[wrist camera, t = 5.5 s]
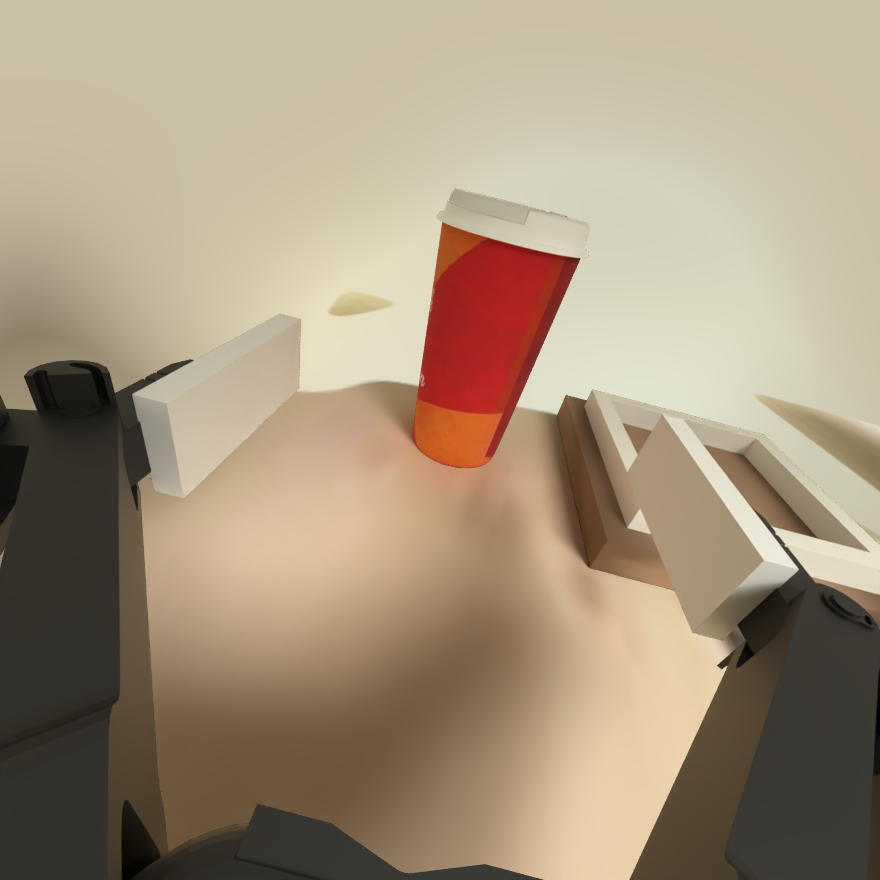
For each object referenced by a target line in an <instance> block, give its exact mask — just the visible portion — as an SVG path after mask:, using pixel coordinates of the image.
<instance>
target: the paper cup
mask: <svg viewBox="0 0 880 880" xmlns="http://www.w3.org/2000/svg"><path fill="white" fill-rule="evenodd" d="M437 218H438V219H439V220H441V221H442V228H441V235H440V242H439V249H438V256H437V263H436V270H435V277H434V283H433V291H432V298H431V305H430V311H429V318H428V325H427V332H426V339H425V346H424V353H423V360H422V367H421V374H420V381H419V388H418V396H417V403H416V411H415V419H414V428H413V439H414V442H415V444H416V446H417V447H418V449H419V450H420V451H421V452H422V453H424V454H425V455H426V456H428V457H429V458H431V459H433V460H435V461H437V462H439V463H441V464H444V465H448V466H452V467H457V468H475V467H479V466H482V465H484V464H486V463H487V462H489V461H490V460H491V458H492V457H493V455H494V453H495V451H496V449H497V447H498V445H499V443H500V440H501V438H502V436H503V434H504V432H505V430H506V427H507V425H508V423H509V421H510V418H511V416H512V414H513V412H514V409H515V407H516V405H517V402H518V400H519V398H520V395H521V393H522V391H523V389H524V386H525V384H526V382H527V380H528V378H529V375H530V373H531V371H532V368H533V366H534V364H535V362H536V359H537V357H538V355H539V352H540V350H541V348H542V345H543V343H544V341H545V339H546V336H547V334H548V331H549V329H550V327H551V325H552V323H553V320H554V318H555V316H556V313H557V311H558V309H559V306H560V304H561V302H562V299H563V297H564V295H565V293H566V290H567V288H568V286H569V284H570V281H571V279H572V277H573V274H574V272H575V270H576V268H577V265H578V263H579V260H580V258H587V257H588V256H589V255H588V250H587V249H585V245H586V241H587V237H588V232H589V224H588V223H585V222H582V221H579V220H575V219H570V218H568V217H567V216H564V215H560V214H557V213H553V212H546V211H543V210H540V209H536V208H532V207H528V206H524V205H521V204H517V203H513V202H509V201H505V200H501V199H497V198H493V197H489V196H485V195H481V194H477V193H472V192H469V191H464V190H459V189H454V190H453V191H452V193H451V196H450V199H449V201H447V204H446V207H445V210H444V211H440V212H439V214H438V215H437Z"/></svg>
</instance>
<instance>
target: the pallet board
mask: <svg viewBox="0 0 880 880" xmlns="http://www.w3.org/2000/svg"><path fill="white" fill-rule="evenodd" d="M662 414H664V415H668V416H672V417H676V418H680V419H683V420H684V421H685V422H686V423H687V425H688V426H689V427H690V429H691V430H692V431H693V433H694V434H695V435H696V436H697V438H698V439H699V440H700V442H701V443H702V444H703V446H704V447H705V448H706V449H707V451H708V452H709V453H710V455H711V456H712V457H713V459H714V460H715V461H716V462H717V464H718V465H719V466H720V468H721V469H722V470H723V472H724V473H725V474H726V475H727V477H728V478H729V479H730V481H731V482H732V483H733V485H734V486H735V487H736V488H737V490H738V491H739V492H740V494H741V495H742V496H743V497H744V499H745V500H746V501H747V503H748V504H749V505H750V506H751V507H752V508H753V509H754V510H756V511H757V512H758V513H759V514H760V515H762V516H763V517H764V518H765V519H766V520H767V522H768V523H769V524H770V525H771V527H772V528H773V529H774V530H775V532H776V535H778V536H779V537H780V538H781V539H782V541H783V542H784V543H785V547H788V548H789V550H790V551H791V552H792V553H793V555H794V556H795V557H796V558H797V560H798V561H799V562H800V564H801V565H802V566H803V567H804V569H805V570H806V571H807V572H808V574H809V575H810V576H811V578H812V579H813V580H814V581H815V583H821V584H824V585H827V586H830V587H833V588H834V589H836V590H838V591H840V592H842V593H844V594H846V595H847V596H848V597H850V598H851V599H853V600H854V601H855V602H857V603H858V604H859V605H861V606H862V607H863V608H864V609H865V610H866V611H867V612H868V613H869V614H870V615H871V616H872V617H873V619H874V620H875V621H876V623H877V624H878V626H879V629H880V545H879V544H878V543H877V542H876V541H875V540H874V539H873V538H872V537H871V536H870V535H868V534H867V533H866V532H865V531H864V530H863V529H862V528H861V527H860V526H859V525H858V524H857V523H856V522H855V521H854V520H853V519H852V518H851V517H850V516H849V515H848V514H846V513H845V512H844V511H843V510H842V509H841V508H840V507H839V506H838V505H837V504H836V503H835V502H834V501H833V500H832V499H830V497H829V496H827V494H826V493H824V492H823V491H822V490H821V489H820V488H819V487H818V486H817V485H816V484H815V483H814V482H813V481H811V479H810V478H809V477H808V476H807V475H805V473H804V472H802V471H801V470H800V469H799V468H798V467H797V466H796V465H795V464H794V463H793V462H792V461H791V460H790V459H789V458H788V457H787V456H786V455H785V454H783V452H781V451H780V450H779V449H778V448H777V447H776V446H775V445H774V444H773V443H772V442H771V441H770V440H769V439H768V438H767V437H766V436H764V435H763V434H760V433H756V432H752V431H748V430H744V429H741V428H737V427H733V426H729V425H725V424H722V423H718V422H714V421H710V420H706V419H703V418H699V417H695V416H691V415H687V414H684V413H679V412H676V411H672V410H668V409H665V408H661V407H657V406H653V405H649V404H646V403H642V402H637V401H634V400H630V399H627V398H623V397H618V396H615V395H611V394H607V393H604V392H600V391H596V390H592V391H591V393H590V395H589V397H588V399H587V400H583V399H579V398H575V397H571V396H568V395H566V396H565V398H564V401H563V403H562V405H561V408H560V410H559V412H558V414H557V419H558V424H559V429H560V433H561V438H562V442H563V447H564V452H565V456H566V461H567V465H568V470H569V475H570V479H571V484H572V488H573V493H574V498H575V502H576V507H577V511H578V516H579V521H580V525H581V530H582V534H583V539H584V544H585V548H586V553H587V557H588V562H589V567H590V568H593V569H596V570H600V571H604V572H608V573H611V574H615V575H619V576H623V577H627V578H630V579H634V580H638V581H642V582H645V583H649V584H653V585H657V586H661V587H664V588H668V589H672V590H674V588H673V585H672V583H671V580H670V578H669V576H668V573H667V571H666V568H665V566H664V564H663V561H662V559H661V557H660V554H659V552H658V549H657V547H656V545H655V542H654V540H653V537H652V535H651V533H650V530H649V528H648V526H647V523H646V521H645V518H644V516H643V514H642V511H641V509H640V506H639V504H638V502H637V499H636V497H635V495H634V492H633V490H632V487H631V485H630V483H629V480H628V478H627V476H626V473H627V472H628V470H629V469H630V467H631V465H632V464H633V462H634V460H635V459H636V457H637V455H638V454H639V452H640V450H641V449H642V447H643V445H644V444H645V442H646V440H647V439H648V437H649V435H650V434H651V432H652V430H653V429H654V427H655V425H656V424H657V422H658V420H659V419H660V417H661V415H662Z"/></svg>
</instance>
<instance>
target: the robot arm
mask: <svg viewBox="0 0 880 880" xmlns="http://www.w3.org/2000/svg"><path fill="white" fill-rule="evenodd" d="M300 328H301V319H298V318H294V317H290V316H286V315H282V314H278V315H277V316H275V317H273V318H271V319H269V320H268V321H266V322H264V323H262V324H260V325H258V326H256V327H255V328H253V329H251V330H249V331H247V332H245V333H244V334H242V335H240V336H238V337H236V338H235V339H233V340H231V341H229V342H227V343H225V344H223V345H222V346H220V347H218V348H216V349H214V350H213V351H211V352H209V353H207V354H205V355H203V356H201V357H200V358H198V359H196V360H186V361H182V362H178V363H173V364H171V365H169V366H167V367H165V368H163V369H161V370H159V371H157V373H153V374H151V375H149V376H147V377H146V378H145V380H144V379H141V380H140V381H138V382H136V383H134V384H132V385H130V386H128V387H126V388H124V389H122V390H120V391H118V392H116V393H115V392H114V388H113V384H112V381H111V377H110V373H109V371H108V369H107V367H105V366H103V365H101V364H98V363H94V362H89V361H75V360H69V361H58V362H52V363H47V364H43V365H40V366H37V367H35V368H33V369H31V370H29V371H28V372H27V373H26V374H25V376H24V378H25V380H26V383H27V385H28V388H29V391H30V393H31V396H32V398H33V401H34V404H35V406H36V409H37V411H32V410H18V409H6V407H5V405H4V403H3V400H2V398H1V396H0V555H1V554H2V552H3V550H4V549H5V550H4V555H3V559H2V563H1V567H0V880H542V879H539V878H535V877H531V876H527V875H524V874H520V873H516V872H512V871H509V870H505V869H501V868H497V867H493V866H490V865H486V864H483V865H475V866H467V867H459V868H451V869H443V870H435V871H427V872H419V873H403V872H401V871H398V870H397V869H395V868H394V867H392V866H391V865H389V864H388V863H387V862H385V861H384V860H382V859H381V858H380V857H378V856H377V855H375V854H374V853H372V852H371V851H370V850H368V849H367V848H365V847H364V846H362V845H361V844H360V843H358V842H357V841H355V840H354V839H353V838H351V837H350V836H348V835H347V834H345V833H344V832H343V831H341V830H340V829H338V828H337V827H335V826H334V825H333V824H331V823H328V822H324V821H320V820H316V819H312V818H309V817H305V816H301V815H297V814H294V813H290V812H286V811H282V810H279V809H275V808H271V807H267V806H263V805H260V804H257V806H256V809H255V811H254V813H253V816H252V818H251V821H250V823H246V824H236V825H232V826H228V827H224V828H221V829H217V830H213V831H211V832H208V833H206V834H203V835H201V836H199V837H196V838H194V839H191V840H190V841H188V842H186V843H184V844H182V845H180V846H179V847H177V848H175V849H173V850H171V851H169V852H168V849H167V836H166V825H165V817H164V809H163V804H162V798H161V793H160V788H159V781H158V772H157V758H156V741H155V725H154V709H153V692H152V676H151V660H150V643H149V627H148V611H147V595H146V578H145V562H144V546H143V529H142V513H141V497H140V490H139V486H138V482H139V481H140V480H141V479H143V478H144V477H145V476H146V475H148V474H149V473H150V475H151V479H152V483H153V488H154V491H157V492H161V493H164V494H168V495H172V496H176V497H179V498H183V499H184V498H185V497H186V496H187V495H188V494H189V493H190V492H191V491H192V490H193V489H194V488H195V487H197V486H198V485H199V484H200V483H201V482H202V481H203V480H204V479H205V478H206V477H207V476H208V475H209V474H210V473H211V472H212V471H213V470H214V469H215V468H216V467H217V466H218V465H220V464H221V463H222V462H223V461H224V460H225V459H226V458H227V457H228V456H229V455H230V454H231V453H232V452H233V451H234V450H235V449H236V448H237V447H238V446H239V445H240V444H241V443H243V442H244V441H245V440H246V439H247V438H248V437H249V436H250V435H251V434H252V433H253V432H254V431H255V430H256V429H257V428H258V427H259V426H260V425H261V424H262V423H263V422H265V421H266V420H267V419H268V418H269V417H270V416H271V415H272V414H273V413H274V412H275V411H276V410H277V409H278V408H279V407H280V406H281V405H282V404H283V403H284V402H285V401H286V400H288V399H289V398H290V397H291V396H292V395H293V394H294V393H295V392H296V391H297V390H298V389H299V370H300V369H299V368H300V332H301V329H300ZM626 476H627V478H628V480H629V483H630V485H631V487H632V490H633V492H634V495H635V497H636V499H637V502H638V504H639V506H640V509H641V511H642V514H643V516H644V518H645V521H646V523H647V526H648V528H649V530H650V533H651V535H652V537H653V540H654V542H655V545H656V547H657V549H658V552H659V554H660V557H661V559H662V561H663V564H664V566H665V568H666V571H667V573H668V576H669V578H670V580H671V583H672V585H673V588H674V590H675V592H676V595H677V597H678V599H679V602H680V604H681V607H682V609H683V611H684V614H685V616H686V619H687V621H688V623H689V626H690V628H691V630H692V633H696V634H700V635H703V636H707V637H711V638H715V639H719V640H723V639H724V638H725V637H726V636H728V635H729V634H730V633H731V632H732V631H733V630H734V629H735V628H736V627H737V626H738V627H739V629H740V631H741V632H742V634H743V636H744V638H745V640H746V641H745V642H743V643H742V644H741V645H740V646H739V647H738V648H737V649H735V650H734V651H733V652H732V653H731V654H730V655H729V656H727V657H726V658H725V659H724V660H723V661H722V662H721V663H719V664H718V665H717V666H718V667H719V668H721V669H723V668H724V667H725V666H728V667H727V669H726V671H725V673H724V676H723V678H722V680H721V682H720V684H719V686H718V689H717V691H716V693H715V695H714V697H713V700H712V702H711V704H710V706H709V708H708V710H707V713H706V715H705V717H704V719H703V721H702V723H701V726H700V728H699V730H698V732H697V734H696V736H695V739H694V741H693V743H692V745H691V747H690V749H689V752H688V754H687V756H686V758H685V760H684V762H683V765H682V767H681V769H680V771H679V773H678V775H677V778H676V780H675V782H674V784H673V786H672V789H671V791H670V793H669V795H668V797H667V799H666V802H665V804H664V806H663V808H662V810H661V812H660V815H659V817H658V819H657V821H656V823H655V825H654V828H653V830H652V832H651V834H650V836H649V838H648V841H647V843H646V845H645V847H644V849H643V851H642V854H641V856H640V858H639V860H638V862H637V865H636V867H635V869H634V871H633V873H632V875H631V878H630V880H880V629H879V626H878V624H877V623H876V621H875V620H874V619H873V617H872V616H871V615H870V614H869V613H868V612H867V611H866V610H865V609H864V608H863V607H862V606H861V605H859V604H858V603H857V602H855V601H854V600H853V599H851V598H850V597H848V596H847V595H846V594H844V593H842V592H840V591H838V590H836V589H834V588H833V587H830V586H827V585H824V584H821V583H815V581H814V580H813V579H812V578H811V576H810V575H809V574H808V572H807V571H806V570H805V569H804V567H803V566H802V565H801V564H800V562H799V561H798V560H797V558H796V557H795V556H794V555H793V553H792V552H791V551H790V550H789V548H788V547H785V543H784V542H783V541H782V539H781V538H780V537H779V536H778V535H776V532H775V530H774V529H773V528H772V527H771V525H770V524H769V523H768V522H767V520H766V519H765V518H764V517H763V516H762V515H760V514H759V513H758V512H757V511H756V510H754V509H753V508H752V507H751V506H750V505H749V504H748V503H747V501H746V500H745V499H744V497H743V496H742V495H741V494H740V492H739V491H738V490H737V488H736V487H735V486H734V485H733V483H732V482H731V481H730V479H729V478H728V477H727V475H726V474H725V473H724V472H723V470H722V469H721V468H720V466H719V465H718V464H717V462H716V461H715V460H714V459H713V457H712V456H711V455H710V453H709V452H708V451H707V449H706V448H705V447H704V446H703V444H702V443H701V442H700V440H699V439H698V438H697V436H696V435H695V434H694V433H693V431H692V430H691V429H690V427H689V426H688V425H687V423H686V422H685V421H684V420H683V419H680V418H676V417H672V416H668V415H664V414H662V415H661V417H660V419H659V420H658V422H657V424H656V425H655V427H654V429H653V430H652V432H651V434H650V435H649V437H648V439H647V440H646V442H645V444H644V445H643V447H642V449H641V450H640V452H639V454H638V455H637V457H636V459H635V460H634V462H633V464H632V465H631V467H630V469H629V470H628V472H627V473H626Z"/></svg>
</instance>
